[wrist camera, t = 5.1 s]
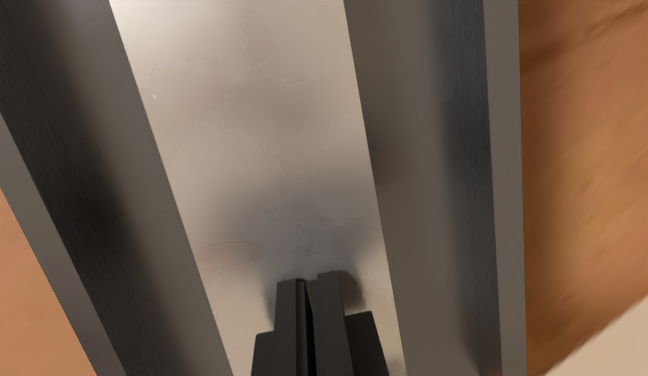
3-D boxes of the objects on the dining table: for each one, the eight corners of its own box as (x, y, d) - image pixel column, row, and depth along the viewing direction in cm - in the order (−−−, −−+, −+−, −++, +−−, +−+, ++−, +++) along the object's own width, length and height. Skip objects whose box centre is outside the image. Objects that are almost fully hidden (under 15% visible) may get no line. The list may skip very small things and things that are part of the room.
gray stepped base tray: (-65, -226, 12) (-470, -510, 6) (425, -328, 12) (584, -725, 6) (181, 368, 20) (132, 533, 14) (474, 305, 20) (562, 440, 14)
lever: (32, -303, 9) (-36, -392, 7) (275, -352, 9) (270, -455, 7) (259, 410, 15) (254, 460, 13) (402, 378, 15) (418, 425, 13)
